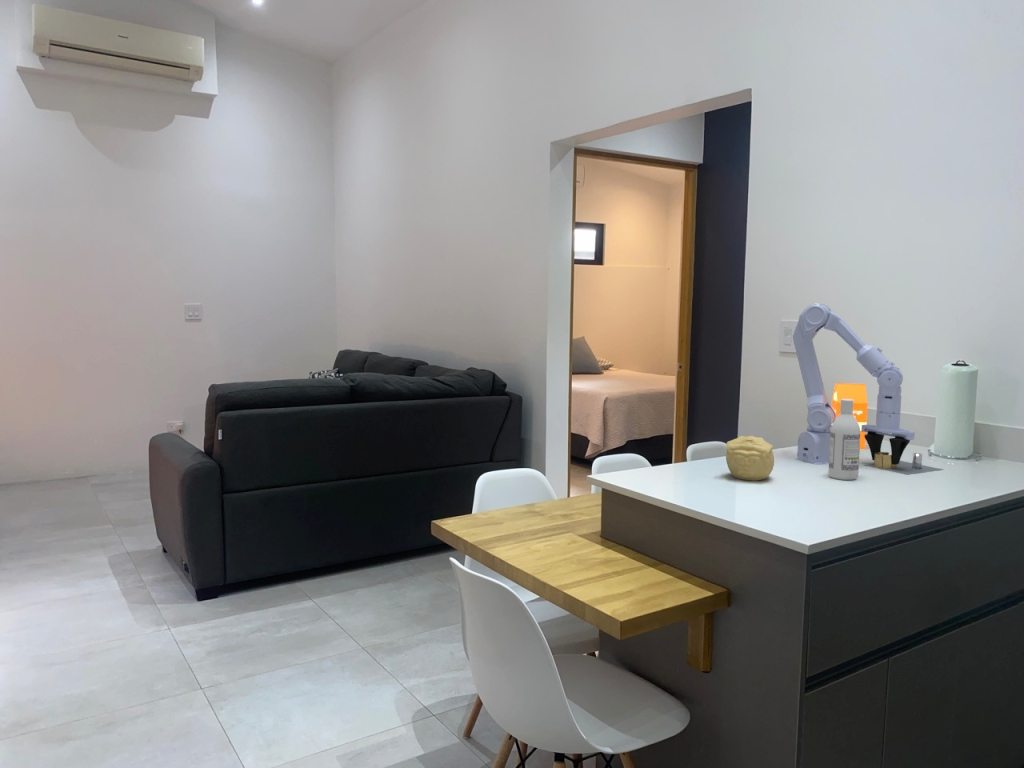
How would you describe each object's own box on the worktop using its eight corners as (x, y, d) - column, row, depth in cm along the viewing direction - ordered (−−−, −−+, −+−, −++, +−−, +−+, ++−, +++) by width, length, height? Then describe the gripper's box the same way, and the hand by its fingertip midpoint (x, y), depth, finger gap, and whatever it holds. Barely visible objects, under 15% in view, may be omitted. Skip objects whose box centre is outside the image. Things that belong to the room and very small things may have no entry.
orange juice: (865, 450, 228) (869, 385, 226) (834, 449, 230) (837, 384, 228) (858, 445, 236) (862, 382, 234) (829, 444, 238) (832, 381, 236)
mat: (907, 476, 193) (907, 474, 193) (863, 466, 204) (863, 465, 204) (944, 471, 199) (944, 469, 199) (899, 461, 211) (899, 460, 211)
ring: (887, 469, 199) (888, 456, 198) (869, 465, 203) (870, 452, 203) (900, 467, 201) (901, 454, 201) (882, 464, 206) (883, 451, 205)
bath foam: (863, 478, 190) (867, 399, 188) (849, 481, 186) (854, 401, 184) (836, 473, 195) (840, 397, 193) (823, 477, 191) (827, 399, 189)
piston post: (917, 469, 199) (918, 454, 199) (910, 468, 201) (911, 453, 201) (923, 468, 200) (924, 454, 200) (915, 467, 202) (916, 452, 202)
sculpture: (721, 479, 187) (722, 437, 186) (731, 470, 198) (732, 430, 196) (769, 485, 182) (771, 441, 181) (776, 475, 192) (778, 434, 191)
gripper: (923, 414, 196) (920, 465, 197) (874, 408, 209) (871, 456, 210) (905, 416, 193) (902, 468, 194) (857, 409, 206) (854, 458, 207)
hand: (885, 462), depth 202 cm, fingers closed on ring, 5 cm apart
